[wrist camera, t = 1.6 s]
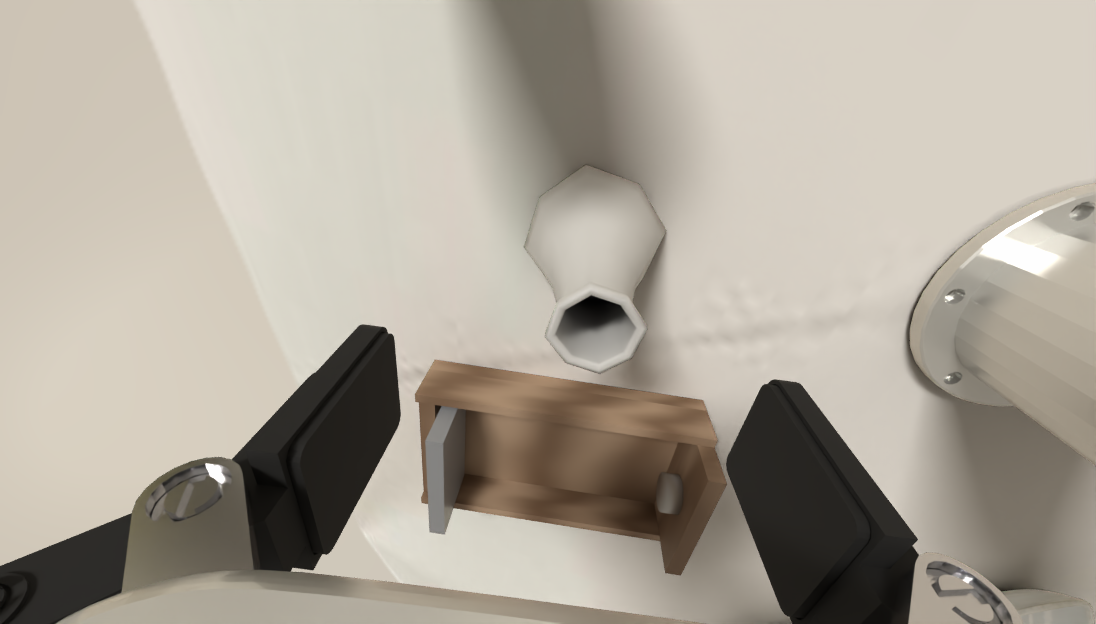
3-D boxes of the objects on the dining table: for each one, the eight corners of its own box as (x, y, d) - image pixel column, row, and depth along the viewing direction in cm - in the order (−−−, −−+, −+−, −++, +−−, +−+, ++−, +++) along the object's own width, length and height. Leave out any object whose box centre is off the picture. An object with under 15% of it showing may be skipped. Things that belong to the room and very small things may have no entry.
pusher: (466, 388, 26) (443, 443, 22) (464, 474, 30) (444, 534, 26) (451, 386, 26) (425, 440, 22) (451, 472, 30) (429, 532, 26)
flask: (601, 318, 24) (607, 445, 16) (502, 247, 23) (448, 345, 14) (690, 226, 21) (760, 320, 12) (583, 136, 20) (577, 172, 11)
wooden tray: (703, 400, 27) (730, 476, 21) (663, 499, 32) (678, 580, 26) (434, 359, 27) (397, 424, 22) (437, 463, 32) (407, 536, 27)
